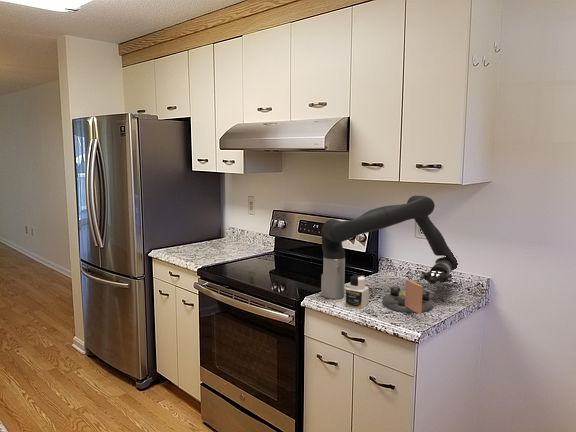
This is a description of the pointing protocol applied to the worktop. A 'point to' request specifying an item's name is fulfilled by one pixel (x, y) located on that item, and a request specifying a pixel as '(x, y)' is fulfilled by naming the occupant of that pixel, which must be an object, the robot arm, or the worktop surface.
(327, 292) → the robot arm
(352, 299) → the medicine bottle
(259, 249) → the worktop surface
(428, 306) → the levelling base
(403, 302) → the terracotta flat panel
